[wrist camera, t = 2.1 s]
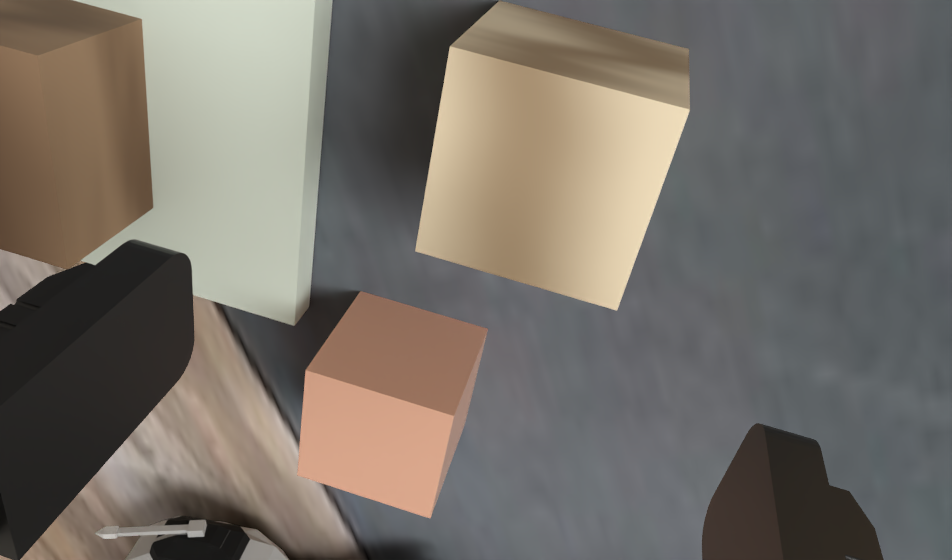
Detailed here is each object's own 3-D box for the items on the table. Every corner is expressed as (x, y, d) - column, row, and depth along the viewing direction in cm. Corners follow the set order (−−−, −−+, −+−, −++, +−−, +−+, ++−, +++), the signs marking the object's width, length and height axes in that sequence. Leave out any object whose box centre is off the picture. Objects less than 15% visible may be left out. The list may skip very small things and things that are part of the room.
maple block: (688, 48, 19) (689, 109, 15) (629, 218, 22) (616, 310, 18) (500, -1, 19) (449, 45, 15) (465, 172, 22) (415, 251, 18)
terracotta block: (488, 327, 25) (454, 416, 21) (465, 423, 27) (430, 518, 24) (361, 289, 25) (305, 370, 22) (349, 387, 28) (297, 475, 24)
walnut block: (141, 19, 21) (37, 56, 17) (153, 208, 24) (67, 269, 21) (-51, -33, 21) (-188, -7, 18) (-14, 158, 24) (-124, 211, 21)
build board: (337, -61, 20) (318, -54, 19) (309, 306, 26) (294, 325, 25) (-195, -193, 21) (-239, -194, 20) (-96, 184, 28) (-125, 198, 27)
